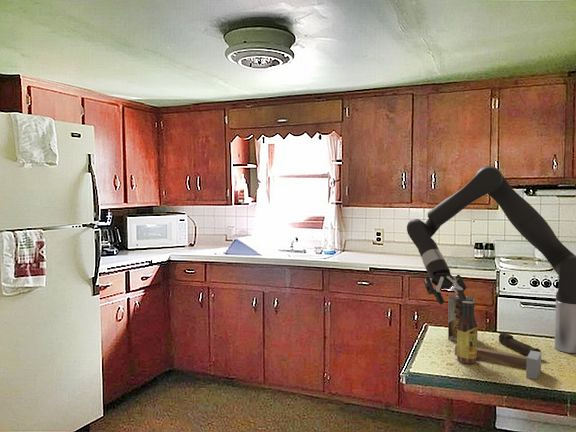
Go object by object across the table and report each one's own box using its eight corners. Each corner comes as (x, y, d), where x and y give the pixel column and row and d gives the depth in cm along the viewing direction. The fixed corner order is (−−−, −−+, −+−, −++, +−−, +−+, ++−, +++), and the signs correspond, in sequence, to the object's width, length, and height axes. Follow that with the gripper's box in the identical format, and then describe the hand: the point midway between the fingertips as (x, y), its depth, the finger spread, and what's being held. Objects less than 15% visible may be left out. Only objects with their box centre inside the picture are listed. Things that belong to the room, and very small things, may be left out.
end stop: (530, 368, 153) (530, 350, 153) (540, 370, 152) (541, 352, 151) (526, 377, 147) (526, 357, 146) (537, 379, 145) (537, 359, 145)
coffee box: (474, 337, 185) (475, 296, 184) (473, 343, 179) (474, 300, 178) (449, 335, 188) (449, 294, 187) (447, 340, 183) (448, 297, 182)
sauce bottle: (472, 366, 156) (473, 305, 155) (453, 361, 160) (454, 302, 159) (480, 360, 161) (481, 301, 160) (461, 356, 165) (462, 298, 164)
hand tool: (541, 360, 162) (542, 346, 161) (531, 361, 161) (531, 347, 161) (505, 342, 180) (506, 330, 180) (496, 343, 180) (496, 330, 179)
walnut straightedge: (457, 352, 169) (457, 344, 169) (529, 366, 156) (530, 357, 156) (454, 354, 167) (455, 346, 167) (528, 368, 154) (528, 359, 154)
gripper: (421, 259, 173) (439, 297, 163) (456, 257, 177) (476, 295, 167) (414, 271, 179) (430, 309, 168) (448, 269, 182) (466, 306, 172)
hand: (453, 302), depth 167 cm, fingers open, 8 cm apart
